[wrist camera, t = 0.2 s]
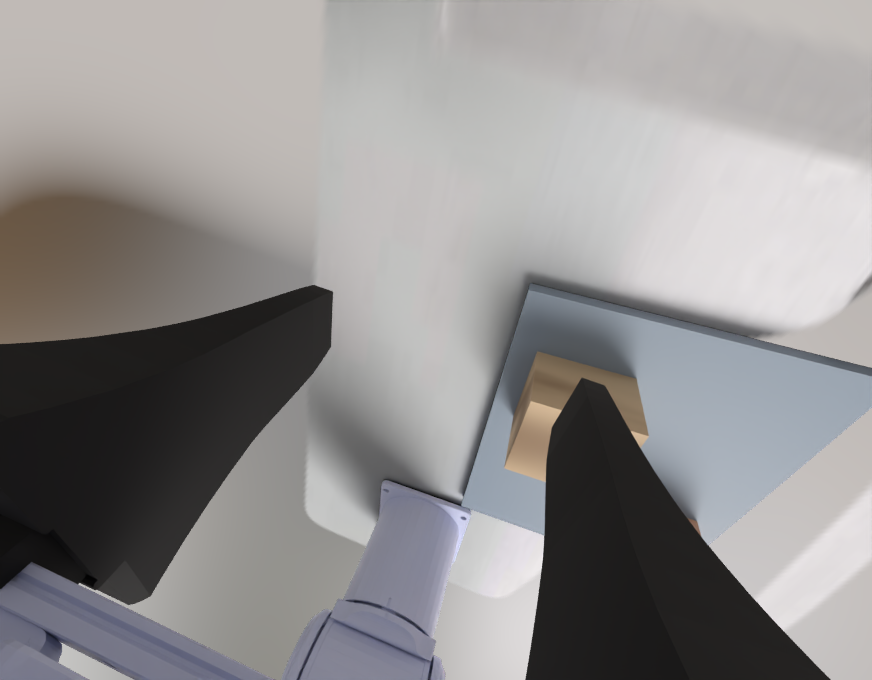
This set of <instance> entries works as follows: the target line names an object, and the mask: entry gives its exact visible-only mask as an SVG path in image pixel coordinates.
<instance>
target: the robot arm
mask: <svg viewBox="0 0 872 680" xmlns="http://www.w3.org/2000/svg"><path fill="white" fill-rule="evenodd" d="M332 302H333V292H332V291H330V290H327V289H324V288H321V287H318V286H315V285H312V286H308V287H304V288H300V289H297V290H294V291H290V292H287V293H284V294H281V295H278V296H275V297H272V298H269V299H265V300H262V301H259V302H256V303H253V304H250V305H247V306H243V307H240V308H236V309H232V310H229V311H225V312H222V313H218V314H214V315H211V316H207V317H204V318H199V319H195V320H191V321H187V322H182V323H178V324H172V325H168V326H162V327H157V328H152V329H146V330H139V331H132V332H125V333H118V334H111V335H104V336H98V337H90V338H79V339H69V340H58V341H45V342H33V343H16V344H0V680H89V679H87V678H85V677H83V676H81V675H79V674H78V673H76V672H74V671H72V670H70V669H68V668H66V667H65V666H63V665H61V664H59V663H58V662H59V658H60V656H61V653H62V644H61V643H64V644H65V645H67V646H69V647H71V648H73V649H75V650H77V651H79V652H81V653H83V654H85V655H87V656H89V657H91V658H93V659H95V660H97V661H99V662H101V663H103V664H105V665H107V666H109V667H111V668H113V669H115V670H116V671H118V672H120V673H122V674H124V675H126V676H128V677H130V678H132V679H134V680H275V679H272V678H270V677H268V676H266V675H264V674H262V673H260V672H258V671H256V670H254V669H251V668H250V667H247V666H246V665H243V664H241V663H239V662H237V661H235V660H233V659H231V658H229V657H227V656H225V655H223V654H220V653H218V652H217V651H215V650H212V649H210V648H208V647H206V646H204V645H202V644H200V643H198V642H196V641H194V640H192V639H190V638H187V637H186V636H183V635H181V634H179V633H177V632H175V631H173V630H171V629H169V628H167V627H165V626H163V625H161V624H159V623H157V622H154V621H153V620H150V619H148V618H146V617H144V616H142V615H140V614H138V613H136V612H134V611H132V610H130V609H128V608H125V607H123V606H121V605H119V604H117V603H115V602H113V601H111V600H109V599H107V598H105V597H103V596H101V595H99V594H97V593H95V592H92V591H90V590H88V589H86V588H84V587H82V586H80V585H78V584H79V583H81V584H83V585H86V586H87V587H89V588H92V589H94V590H99V591H101V592H103V593H105V594H107V595H109V596H111V597H113V598H116V599H117V600H120V601H122V602H124V603H126V604H128V605H130V604H135V603H137V602H140V601H142V600H144V599H146V598H148V597H150V596H151V595H152V593H153V591H154V589H155V587H156V586H157V584H158V583H159V581H160V579H161V577H162V576H163V574H164V573H165V571H166V569H167V568H168V566H169V564H170V563H171V561H172V560H173V558H174V556H175V555H176V553H177V551H178V550H179V548H180V546H181V545H182V543H183V542H184V540H185V538H186V537H187V535H188V534H189V532H190V531H191V529H192V528H193V526H194V525H195V523H196V522H197V520H198V518H199V517H200V515H201V513H202V512H203V511H204V509H205V508H206V506H207V505H208V503H209V501H210V500H211V499H212V497H213V496H214V494H215V493H216V491H217V490H218V489H219V487H220V486H221V484H222V483H223V481H224V480H225V478H226V477H227V476H228V474H229V473H230V471H231V470H232V469H233V467H234V466H235V465H236V463H237V462H238V460H239V459H240V458H241V456H242V455H243V454H244V452H245V451H246V450H247V448H248V447H249V445H250V444H251V442H252V441H253V440H254V439H255V438H256V437H257V435H258V434H259V433H260V432H261V430H262V429H263V428H264V427H265V426H266V425H267V424H268V423H269V422H270V420H271V419H272V418H273V417H274V416H275V415H276V414H277V413H278V412H279V410H281V408H282V407H283V406H284V405H285V404H286V403H287V402H288V401H289V400H290V399H291V397H292V396H293V395H294V394H295V393H296V392H297V391H298V390H299V389H300V387H301V386H302V385H303V384H304V383H305V382H306V381H307V380H308V378H309V377H310V376H311V375H312V374H313V373H314V371H315V370H316V368H317V367H318V365H319V364H320V363H321V361H322V360H323V358H324V357H325V355H326V354H327V352H328V350H329V349H330V347H331V328H332ZM470 516H471V511H470V510H469V509H467V508H464V507H462V506H459V505H456V504H453V503H450V502H447V501H445V500H442V499H439V498H436V497H433V496H430V495H428V494H425V493H422V492H419V491H416V490H413V489H411V488H408V487H405V486H402V485H399V484H397V483H394V482H391V481H388V480H384V481H383V483H382V485H381V497H380V511H379V519H378V521H377V523H376V526H375V528H374V530H373V532H372V535H371V537H370V539H369V541H368V544H367V546H366V548H365V551H364V553H363V555H362V557H361V559H360V562H359V564H358V566H357V569H356V571H355V573H354V575H353V578H352V580H351V582H350V584H349V587H348V589H347V591H346V593H345V596H344V598H343V600H342V599H338V600H337V602H336V604H335V607H334V609H333V611H332V610H329V609H324V610H322V612H320V613H318V614H316V615H315V616H314V617H313V618H312V619H311V620H310V622H309V623H308V624H307V626H306V628H305V629H304V631H303V633H302V635H301V636H300V638H299V640H298V642H297V644H296V646H295V648H294V650H293V652H292V654H291V656H290V658H289V661H288V663H287V665H286V668H285V670H284V672H283V675H282V677H281V680H445V671H444V668H443V666H442V662H441V659H440V658H439V657H437V656H435V655H433V652H434V648H435V643H436V641H435V640H434V639H433V638H434V634H435V629H436V626H437V621H438V618H439V613H440V609H441V605H442V601H443V597H444V594H445V590H446V585H447V581H448V577H449V573H450V569H451V565H452V563H454V562H455V559H456V556H457V553H458V551H459V548H460V545H461V542H462V539H463V536H464V534H465V531H466V528H467V525H468V522H469V519H470ZM60 642H61V643H60ZM432 656H433V657H432ZM526 680H830V679H829V678H828V677H827V676H826V675H825V674H824V673H823V672H822V671H821V670H820V669H819V668H818V667H817V666H816V665H815V664H814V663H813V661H812V660H811V659H810V658H809V657H808V656H806V654H805V653H804V652H803V651H802V650H801V649H800V648H799V647H798V646H797V645H796V644H795V643H794V642H793V641H792V640H791V639H790V638H789V637H788V635H787V634H786V633H785V632H784V631H783V630H782V629H781V628H780V627H779V626H778V625H777V624H776V623H775V622H774V621H773V620H772V618H771V617H770V616H769V615H768V614H767V613H766V612H765V611H764V610H763V609H762V607H761V606H760V605H759V604H758V603H757V602H756V601H755V600H754V599H753V598H752V596H751V595H750V594H749V593H748V592H747V591H746V590H745V588H744V587H743V586H742V585H741V584H740V583H739V581H738V580H737V579H736V578H735V577H734V576H733V575H732V573H731V572H730V571H729V570H728V569H727V568H726V566H725V565H724V564H723V563H722V562H721V561H720V559H719V558H718V557H717V556H716V554H715V553H714V552H713V551H712V550H711V548H710V547H709V546H708V545H707V543H706V542H705V541H704V539H703V538H702V537H701V536H700V534H699V533H698V532H697V530H696V529H695V528H694V526H693V525H692V524H691V522H690V521H689V520H688V518H687V517H686V516H685V515H684V513H683V512H682V511H681V509H680V508H679V506H678V505H677V504H676V502H675V501H674V499H673V498H672V496H671V495H670V494H669V492H668V491H667V489H666V488H665V486H664V484H663V483H662V481H661V480H660V478H659V477H658V475H657V474H656V472H655V471H654V469H653V468H652V466H651V465H650V463H649V461H648V460H647V458H646V457H645V455H644V453H643V452H642V450H641V448H640V447H639V445H638V443H637V441H636V440H635V438H634V436H633V435H632V433H631V431H630V429H629V428H628V426H627V424H626V422H625V420H624V419H623V417H622V415H621V413H620V411H619V409H618V408H617V406H616V404H615V402H614V400H613V399H612V397H611V395H610V393H609V392H608V390H607V388H606V386H605V385H602V384H599V383H597V382H594V381H591V380H588V379H585V378H581V379H580V381H579V383H578V384H577V386H576V388H575V389H574V391H573V393H572V394H571V396H570V398H569V399H568V401H567V403H566V404H565V406H564V408H563V409H562V411H561V413H560V414H559V416H558V418H557V419H556V421H555V423H554V424H553V426H552V429H551V435H550V441H549V447H548V453H547V460H546V488H545V531H544V552H543V563H542V571H541V579H540V587H539V595H538V602H537V609H536V616H535V623H534V630H533V637H532V643H531V650H530V655H529V662H528V667H527V674H526Z"/></svg>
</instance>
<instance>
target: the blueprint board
mask: <svg viewBox="0 0 872 680" xmlns="http://www.w3.org/2000/svg"><path fill="white" fill-rule="evenodd" d="M537 351H538V352H542V353H545V354H549V355H552V356H556V357H560V358H563V359H567V360H570V361H574V362H578V363H581V364H585V365H588V366H592V367H596V368H599V369H603V370H607V371H610V372H614V373H617V374H621V375H625V376H628V377H632V378H635V379H637V383H638V387H639V392H640V397H641V401H642V406H643V411H644V415H645V420H646V425H647V429H648V434H649V437H648V438H647V440H646V441H645V443H644V444H643V445H642V447H641V450H642V452H643V453H644V455H645V457H646V458H647V460H648V461H649V463H650V465H651V466H652V468H653V469H654V471H655V472H656V474H657V475H658V477H659V478H660V480H661V481H662V483H663V484H664V486H665V488H666V489H667V491H668V492H669V494H670V495H671V496H672V498H673V499H674V501H675V502H676V504H677V505H678V506H679V508H680V509H681V511H682V512H683V513H684V515H685V516H686V517H687V518H689V519H692V520H695V521H697V522H698V526H699V529H700V533H701V537H702V538H703V539H704V541H705V542H706V543H707V545H709V544H711V543H712V542H713V541H714V540H715V539H717V538H718V537H719V536H720V535H721V534H723V533H724V532H725V531H726V530H727V529H728V528H730V527H731V526H732V525H733V524H734V523H735V522H737V521H738V520H739V519H740V518H742V517H743V516H744V515H745V514H746V513H747V512H748V511H750V510H751V509H752V508H753V507H754V506H756V505H757V504H758V503H759V502H760V501H761V500H763V499H764V498H765V497H766V496H767V495H769V494H770V493H771V492H772V491H774V490H775V489H776V488H777V487H778V486H779V485H780V484H782V483H783V482H784V481H785V480H787V478H789V477H790V476H791V475H792V474H794V473H795V472H796V471H797V470H798V469H800V468H801V467H802V466H803V465H804V464H805V463H807V462H808V461H809V460H810V459H811V458H813V457H814V456H815V455H816V454H817V453H819V452H820V451H821V450H822V449H823V448H824V447H826V446H827V445H828V444H829V443H830V442H831V441H832V440H834V439H835V438H836V437H837V436H838V435H840V434H841V433H842V432H843V431H844V430H845V429H847V428H848V427H849V426H851V425H852V424H853V423H854V422H855V421H856V420H858V419H859V418H860V417H861V416H862V415H864V414H865V413H866V412H867V411H868V410H869V409H871V408H872V368H869V367H865V366H861V365H857V364H853V363H849V362H845V361H841V360H837V359H833V358H829V357H825V356H821V355H817V354H813V353H809V352H805V351H800V350H797V349H792V348H789V347H785V346H781V345H777V344H773V343H769V342H765V341H761V340H757V339H753V338H749V337H745V336H741V335H737V334H733V333H729V332H725V331H721V330H717V329H713V328H709V327H705V326H701V325H697V324H693V323H689V322H685V321H681V320H677V319H673V318H669V317H665V316H661V315H657V314H653V313H648V312H644V311H640V310H636V309H632V308H628V307H624V306H620V305H616V304H612V303H608V302H604V301H600V300H596V299H592V298H588V297H584V296H580V295H576V294H572V293H568V292H564V291H560V290H556V289H552V288H548V287H544V286H540V285H536V284H532V283H530V286H529V289H528V292H527V295H526V298H525V302H524V305H523V308H522V311H521V314H520V318H519V321H518V324H517V327H516V330H515V334H514V337H513V340H512V343H511V346H510V350H509V353H508V356H507V359H506V363H505V366H504V369H503V372H502V375H501V379H500V382H499V385H498V388H497V391H496V395H495V398H494V401H493V404H492V407H491V411H490V414H489V417H488V420H487V423H486V427H485V430H484V433H483V436H482V439H481V443H480V446H479V449H478V452H477V455H476V459H475V462H474V465H473V468H472V471H471V475H470V478H469V481H468V484H467V487H466V491H465V494H464V497H463V501H462V505H461V506H463V507H466V508H468V509H471V510H474V511H477V512H480V513H483V514H485V515H488V516H491V517H494V518H497V519H500V520H502V521H505V522H508V523H511V524H514V525H516V526H519V527H522V528H525V529H528V530H531V531H533V532H536V533H539V534H542V535H544V531H545V488H546V482H544V481H541V480H538V479H535V478H532V477H529V476H526V475H523V474H520V473H517V472H514V471H511V470H508V469H505V468H504V466H505V460H506V455H507V449H508V443H509V438H510V432H511V426H512V421H513V416H514V413H515V410H516V407H517V405H518V402H519V399H520V397H521V394H522V391H523V389H524V386H525V383H526V380H527V378H528V375H529V372H530V370H531V367H532V364H533V361H534V359H535V356H536V353H537Z"/></svg>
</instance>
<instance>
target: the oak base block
mask: <svg viewBox="0 0 872 680" xmlns="http://www.w3.org/2000/svg"><path fill="white" fill-rule="evenodd" d="M581 378H585V379H588V380H591V381H594V382H597V383H599V384H602V385H605V386H606V388H607V390H608V392H609V393H610V395H611V397H612V399H613V400H614V402H615V404H616V406H617V408H618V409H619V411H620V413H621V415H622V417H623V419H624V420H625V422H626V424H627V426H628V428H629V429H630V431H631V433H632V435H633V436H634V438H635V440H636V441H637V443H638V445H639V447H640V448H641V447H642V445H643V444H644V443H645V441H646V440H647V438H648V437H649V434H648V429H647V425H646V420H645V415H644V411H643V406H642V401H641V397H640V392H639V387H638V383H637V379H635V378H632V377H628V376H625V375H621V374H617V373H614V372H610V371H607V370H603V369H599V368H596V367H592V366H588V365H585V364H581V363H578V362H574V361H570V360H567V359H563V358H560V357H556V356H552V355H549V354H545V353H542V352H538V351H537V353H536V356H535V359H534V361H533V364H532V367H531V370H530V372H529V375H528V378H527V380H526V383H525V386H524V389H523V391H522V394H521V397H520V399H519V402H518V405H517V407H516V410H515V413H514V416H513V421H512V426H511V432H510V438H509V443H508V449H507V455H506V460H505V466H504V468H505V469H508V470H511V471H514V472H517V473H520V474H523V475H526V476H529V477H532V478H535V479H538V480H541V481H544V482H546V460H547V453H548V447H549V441H550V435H551V429H552V426H553V424H554V423H555V421H556V419H557V418H558V416H559V414H560V413H561V411H562V409H563V408H564V406H565V404H566V403H567V401H568V399H569V398H570V396H571V394H572V393H573V391H574V389H575V388H576V386H577V384H578V383H579V381H580V379H581Z"/></svg>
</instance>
